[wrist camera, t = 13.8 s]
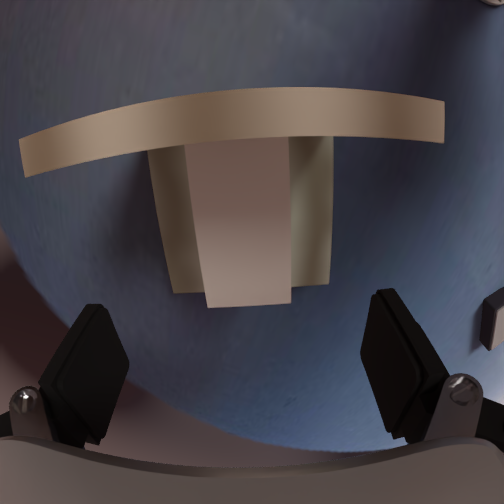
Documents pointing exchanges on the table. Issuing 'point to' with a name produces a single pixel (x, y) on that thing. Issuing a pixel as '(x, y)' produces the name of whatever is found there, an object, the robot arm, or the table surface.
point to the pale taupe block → (242, 219)
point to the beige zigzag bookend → (240, 127)
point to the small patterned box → (493, 320)
